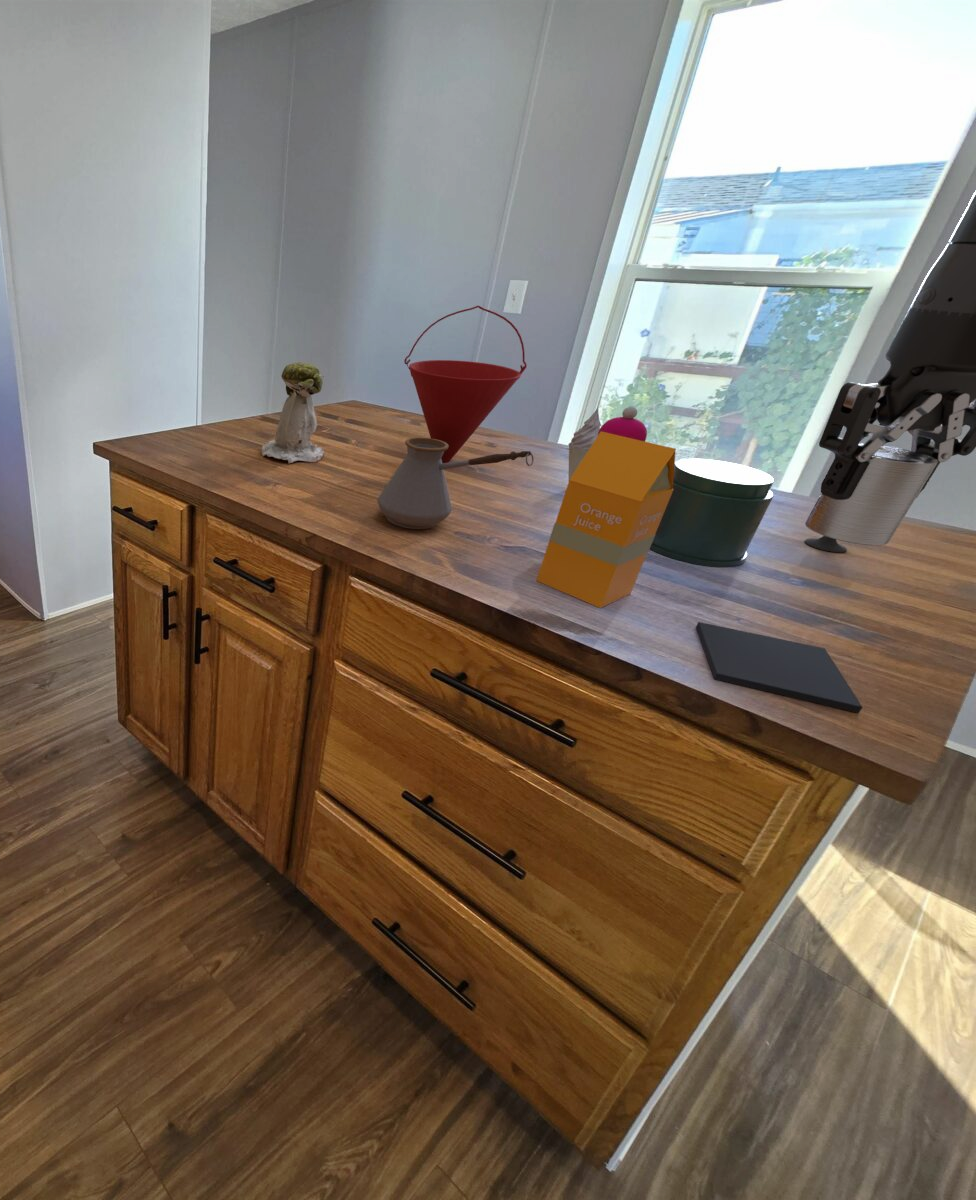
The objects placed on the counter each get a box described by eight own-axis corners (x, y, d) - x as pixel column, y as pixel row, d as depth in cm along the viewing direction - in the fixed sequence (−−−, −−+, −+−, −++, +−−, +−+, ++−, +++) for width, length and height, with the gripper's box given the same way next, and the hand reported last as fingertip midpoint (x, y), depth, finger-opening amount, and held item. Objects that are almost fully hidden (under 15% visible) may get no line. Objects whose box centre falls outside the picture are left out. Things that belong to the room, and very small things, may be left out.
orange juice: (566, 567, 93) (616, 427, 83) (631, 593, 86) (693, 444, 77) (534, 580, 89) (582, 435, 79) (600, 608, 83) (661, 454, 73)
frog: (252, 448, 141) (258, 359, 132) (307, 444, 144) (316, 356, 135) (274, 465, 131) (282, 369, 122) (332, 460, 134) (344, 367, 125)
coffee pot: (361, 519, 107) (376, 427, 100) (397, 502, 114) (414, 415, 107) (489, 562, 94) (518, 460, 87) (521, 540, 101) (550, 444, 94)
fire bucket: (489, 458, 138) (530, 302, 123) (508, 489, 121) (558, 313, 106) (384, 449, 142) (410, 298, 127) (388, 478, 125) (419, 308, 110)
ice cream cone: (585, 495, 119) (614, 412, 111) (554, 490, 121) (580, 408, 113) (585, 487, 122) (613, 406, 115) (555, 482, 125) (581, 402, 117)
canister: (734, 539, 103) (770, 465, 97) (755, 575, 92) (797, 494, 86) (632, 522, 108) (660, 451, 102) (641, 554, 97) (672, 476, 91)
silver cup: (874, 527, 66) (921, 449, 62) (899, 550, 61) (952, 467, 57) (797, 516, 68) (837, 439, 64) (815, 537, 63) (859, 456, 59)
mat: (821, 653, 75) (825, 647, 74) (858, 713, 65) (863, 707, 65) (695, 627, 79) (698, 621, 79) (713, 679, 70) (717, 673, 70)
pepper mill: (558, 523, 107) (599, 399, 97) (608, 530, 105) (656, 404, 95) (562, 540, 101) (607, 409, 91) (616, 548, 99) (667, 415, 89)
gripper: (942, 310, 51) (831, 512, 59) (1113, 312, 51) (980, 511, 60) (850, 300, 57) (762, 484, 65) (1003, 303, 58) (897, 483, 66)
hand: (866, 496), depth 62 cm, fingers closed on silver cup, 6 cm apart
